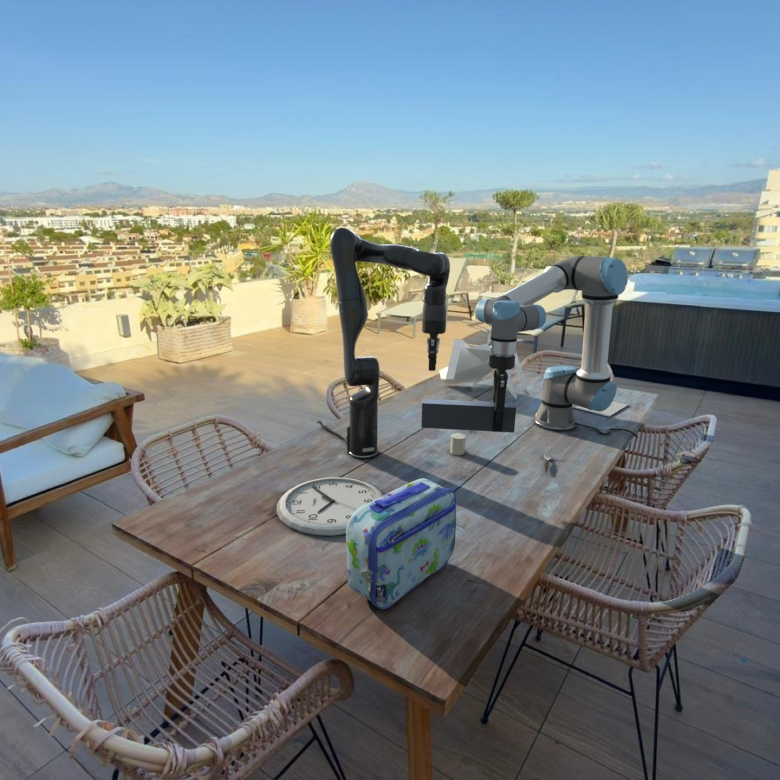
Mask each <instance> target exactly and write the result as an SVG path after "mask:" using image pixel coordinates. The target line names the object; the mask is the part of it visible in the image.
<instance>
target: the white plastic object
mask: <svg viewBox="0 0 780 780" xmlns="http://www.w3.org/2000/svg"><path fill="white" fill-rule="evenodd" d="M488 343H489V342H487V343H483V344H479V345H473V346H469V345H468V343H466V342H465V340H464V339H463V338H460V339H458V338H454V340H453V344H452V349H451V353H450V357H449V362H448V366H446V367H444V368H442V369H440V370H439V371H438V372H439V376H440V381H442V383H443V384H444V385H445V386H449V385H458V384H467V383H468V384H469V383H473V384H477V383H480V382H482V381H484V378H485V377H486V376H487V375H489V374H490V373H492V372H494V370H495V369H494V368H491V367H490V366H489V355H490V354H491V352H490V346H489V345H488ZM514 356H515V366H514V367H515V369H516V372H517V376H518V380H519V382H520V385H521V389H522V391H523V393H524V395H525V396H526V397H528V396H531V395H530V390H529V388H528V387H529V386H528V384H527V381H526V378H525V375H524V371H523V369H522V368H523V367H522V366H521V362H520V359H519V355H518V352H517V351H516V354H514ZM506 372H507V375H508V380H507V386H508V387H507V388H508V390H509V393H510V394H511V395H512V397H513V398H514V399H515V400H517V392H516V391H517V390H516V388H515V385H514V381H513V378H512V375H511V371H510V369H508V370H506Z"/></svg>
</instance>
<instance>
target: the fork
mask: <svg viewBox="0 0 780 780" xmlns="http://www.w3.org/2000/svg"><path fill="white" fill-rule="evenodd" d="M553 451H554V450H553V448H552V451H551V449H549V451H547V450H545V452H544V455H543V459H545V460H546V461H545V463H544V473H547V470H548V468H549V461H551V460H553Z"/></svg>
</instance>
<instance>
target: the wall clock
mask: <svg viewBox="0 0 780 780" xmlns="http://www.w3.org/2000/svg"><path fill="white" fill-rule="evenodd" d="M384 495H385V494H384V493H383V492H382V491H381V490H380V489H379V488H377V487H376V486H374V485H372V484H371V483H369V482H365V481H362V480H359V479H355V478H349V477H338V476H337V477H335V476H333V477H332V476H331V477H322V478H317V479H312V480H307V481H305V482H302V483H299V484H297V485H295V486H293V487H292V488H290V489H288V490H287V491H286V492H285V493H284V494H283V495H281V496H280V498H279V499H278V502H277V503H276V515H277V517H278V518H279V520H280V521H281V522H282V523H283V524H285V525H286V526H287V527H288V528H290V529H293V530H295V531H297V532H299V533H303V534H308V535H312V536H327V537H328V536H329V537H331V536H332V537H333V536H342V535H346V528H347V524H348V521H349V519H350V517H351V515H352V514H353V513H354V512H355V511H356V510H357V509H358V508H360V507H362V506H364V505H366V504H368V503H370V502H372V501H374V500H376V499H378V498H380V497H382V496H384Z"/></svg>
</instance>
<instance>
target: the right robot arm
mask: <svg viewBox="0 0 780 780" xmlns="http://www.w3.org/2000/svg"><path fill="white" fill-rule="evenodd" d="M628 282H629V273H628V268H627V265H626V264H625V262H624V261H623V260H622V259H620V258H617V257H616V258H615V257H610V256H588V255H575V256H571V257H567V258H564V259H561V260H559V261H557V262H555V263H553V264H550V265H549V266H547V267H546V268H545V269H544V270H543V272H542V273H541V274H539V275H537V276H534V277H533V278H531V279H529V280H527V281H525V282H524V283H522V284H520V285H518V286H516V287H515V288H513V289H511V290H509V291H507V292H505V293H503V294H501V295H499V296H497V297H496V298H494V299H491V298H483V299H481V300H479V301H478V302H477V304H476V306H475V310H474V313H475V317H476V319H477V321H479V322H481V323H485V324H487V325H491V329H490V330H491V331H490V341H489V342H487V343H488V345H489V346H490V352H491V354H490V355H489V366H490V367H491V368H494V370H493V374H492V375H493V376H492V377H493V392H492V402H495V409H494V410H493V409H492V412H494V417H493V430H492V431H493V433H503V432H502V423H503V412H504V411H505V409H504V407H505V403H506V396H507V395H506V393H507V388H508V387H507V386H508V384H507V380H508V375H507V372H506V370H508V369H509V370H513V369H514V368H515V367H516V366H515V356H514V354H516V352H517V345H518V333H522V332H529V331H535V330H539V329H540V328H542V327H543V326H544V325H545V323H546V321H547V311H546V309H545V308H544V307H543V306H542V305H540V304H536V303H537V302H539V301H541V300H543V299H544V298H547V297H548V296H549V295H551V294H553V293H555V294H557V293H561V292H563V291H567V290H568V291H569V290H571V291H572V290H573V291H581V299H582V300H583V302H585V311H584V312H585V313H584V322H583V323H584V325H583V337H582V338H583V339H582V351H581V363H580V368H579V369H578V368H577V367H576V366H571V365H570V366H569V365H557V366H556V365H555V366H554V365H553V366H550V367H547V368H546V369H545V371H544V375H543V378H542V379H543V381H542V382H543V383H542V394H541V402H540V405H539V407H538V410H537V411H536V413H535V414H534V416H535V417H534V424H535V425H536V426H537V427H539V428H542V429H544V430H549V431H556V432H567V431H572V430H574V429H575V428H576V426H580V427H583V428H586V429H591V430H594V431H596V432H598V433H599V434H600V435H601V436H608V435H610V434H611V431H621V432H627V433H629V434H631V435H633V436H634V437H635V438H637V439H638V438H639V436H638V435H637V434H636V433H635V432H633V431H632V430H630V429H627V428H617V427H616V428H615V427H614V428H611V427H610V428H609V429H608V430H607V432H602V431H601V430H600V429H599V428H597V427H593V426H590V425H586V424H582V423H579V422H576V418H575V417H576V416H575V413H574V407H573V405H574V406H580V407H583V408H587V409H589V410H594V411H599V412H601V411H604V410H605V409H607V408H608V407H609V406H610V404H611V403H612V401H614V400H615V398H616V394H617V389H618V387H617V384H616V382H614V381H613V380H611V379H612V378H611V377H612V374H611V372H610V371H609V370H608V361H609V351H610V339H611V330H612V329H611V328H612V318H613V317H612V316H613V307H614V303H615V302H616V301H617V300H618V299H619V296H620V295H621V294H623V293H624V292H625V290H626V288H627V287H626V286H628ZM492 431H491V432H492Z"/></svg>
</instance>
